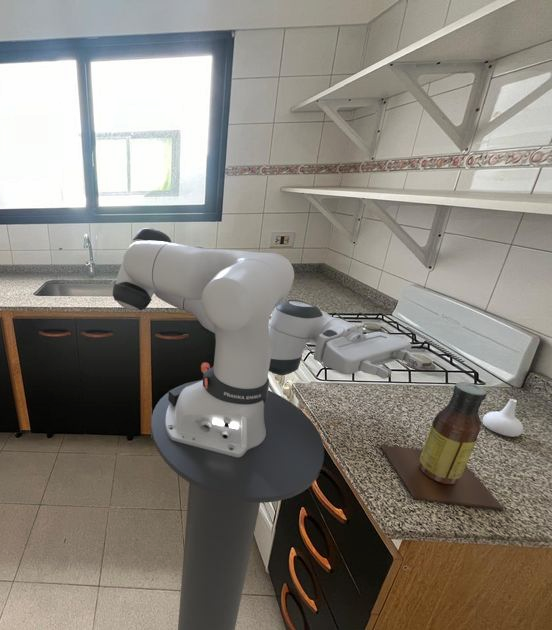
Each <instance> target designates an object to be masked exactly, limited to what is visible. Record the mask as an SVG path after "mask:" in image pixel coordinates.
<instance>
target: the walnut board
mask: <svg viewBox="0 0 552 630" xmlns="http://www.w3.org/2000/svg"><path fill="white" fill-rule="evenodd" d="M380 449H381V451H382V452H383V453H384V455H385V457H386V458H387V459H388V461H389V463H390V465H391V466H392V468H393V469H394V471H395V472H396V474H397V475H398V476H399V478H400V480H401V482H402V483H403V484H404V486H405V488H406V489H407V491H408V492H409V494H410V496H411V497H412V498H413V500H414V499H415V500H420V501H429V502H436V503H444V504H451V505H459V506H465V507H473V508H481V509H482V508H483V509H489V510H497V511H503V510H504V508H505V507H504V506H503V505H502V504H501V503H500V502H499V501H498V500H497V498H496V497H495V496H494V495H493V494H492V493H491V492H490V491H489V489H488V488H486V486H485V485H484V484H483V483H482V482H481V481H480V479H479V478H478V477H477V476H476V475H475V473H474V472H472V470H471V469H470V468H469V467H468V466H467V465H466V467H465V469H464V471H463V474H462V476H461V477H460V478H459V481H458V482H457V483H455V484H444V483H441V482H438V481H436V480H433V479H431V478H429V477H428V476H427V475H426V474H425V473H424V472H423V471H422V470H421V468H420V466H419V463H420V456H421V453H422V451H423V449H416V448H407V447H400V446H389V445H381V446H380Z"/></svg>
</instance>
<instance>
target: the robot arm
mask: <svg viewBox="0 0 552 630" xmlns="http://www.w3.org/2000/svg"><path fill="white" fill-rule="evenodd" d="M132 239H133V240H132V243H131V244H130V245H129V246H128V248H127V249H126V250H125V252H124V255H123V258H122V259H123V261H122V262H121V265H120V268H119V271H118V274H117V276H116V281H115V283H114V284H113V288H112V297H113V300H114V301H116V303H117V304H119V305H120V306H121V307H123V308H124V309H126V310H130V311H143V310H145V309H147V307H149V305H150V303H151V302H152V300H153V299H152V298H153V296H154V295H155V297H156V298H157V299H159V300H161V301H163V302H165V303H166V304H168V305H171V306H172V307H174V308H177V309H179V310H181V311H184V312H187V313H189V314H191V316H193V317H195V318H196V320H198V322H199V324H200V328H201V329H202V330H203V331H204V332H205V333H206V334H208V335H209V336H211V337H212V338H214V339H215V349H214V357H213V359H214V360H213V366H211V365H210V363H208V362H202V363H201V365H200V371H201V373H202V379H200V380H201V381H199V380H198V381H199V382H197V383H195V384H192V385H190V386H187V387H185V386H181V385H180V386H181V387H178V386H177V387H178V388H176V387H175V389H174V388H172V389H170V390H168V392H169V397H168V401H170V402H171V403H170V405H169V407H168V409H167V412H166V418H165V427H166V432H167V434H168V436H169V437H170V439H171V440H173V441H177V442H180V443H184V444H188V445H192V446H195V447H199V448H203V449H207V450H210V451H214V452H218V453H222V454H226V455H229V456H233V457H241V456H243V455H244V454H245V453H246V451H247V450H249V449H251V448H253V447H256V446H257V445H259V444H260V443H262V441H263V440H264V438H265V436H266V429H265V424H264V403H265V401H266V397H267V395H268V390H269V388H270V379H269V372H270V373H272V374H275V375H277V376H287V375H290V374H293V373H294V372H296V371H297V370H299V368H300V364H301V362H302V357H303V354H304V351H305V349H306V347H307V344H310V345H314V346H315V347H314V352H313V359H314V360H315V361H316V362H318V363H323V364H324V365H325V366H326V367H328V368H329V369H332V370H334V371H335V372H337V373H340V374H343V375H353V374H355V373H358V372H362V373H364V374H368V375H373V376H377V377H379V378H380V379H382V380H385V379H388V378H390V377H391V376H392V374H393V373H392V372H393V371H392V370H391V369H390V368H387V367H386V366H385V365H384V364H388V363H392V362H394V361H397V360H398V361H401V362H403V361H404V362H405V363H406V366H408V367H409V368H411V369H414V370H416V369H419V368H421V367H422V365H423V360H422V359H420V358H417V357H415V356H414V355H413V353H411V350H412V347H413V346H412V342H411V341H409V340H407V339H404V338H402V337H399V336H396V335H393V334H390V333H388V332H387V333H386V332H383V331H374V332H367V333H364V330H363V328H362V327H360V326H359V325H357V324H354V323H351V322H349V321H347V320H345V319H343V318H340V317H334V316H331V314H329V313H328V312H326V311H324V310H321V309H319V307H318V306H315V305H313V304H311V303H308V302H306V301H302V300H299V299H288V300H285V301H283V300H284V299H285V298H286V297H288V295H289V294H290V292H291V289H292V287H293V283H294V281H295V271H294V267H293V265H292V263H291V262H290V260H289V259H288V258H286V257H285V256H283V255H281V254H279V253H275V252H258V251H247V250H236V249H235V250H233V249H218V248H217V249H216V248H215V249H214V248H203V247H198V246H191V245H186V244H180V243H175V242H172V240H171V238H170V236H169V235H168V234H166V233H164V232H163V231H161V230H159V229H157V228H153V227H143V228H141V229H139V231H137V232H136V234H135V236H134V237H133V238H132ZM381 365H383V366H381Z"/></svg>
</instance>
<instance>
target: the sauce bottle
mask: <svg viewBox="0 0 552 630" xmlns="http://www.w3.org/2000/svg"><path fill="white" fill-rule="evenodd" d="M487 394H488V392H487V391H486V389H485V388H484V387H482V386H480V385H477V384H474V383H472V382H467V381H459V382H456V383H455V385H454V387H453V393H452V396H451V398H450V399H449V402H448V404H447V405H446V406H445V407H444V408H443V409H441V410H440V411H439V412H438V413H437V414H436V416H435V417H434V418H433V421H432V423H431V426H430V429H429V432H428V434H427V437H426V440H425V443H424V446H423V448H422V450H423V451H422V453H421V456H420V463H419V466H420V468H421V470H422V471H423V472H424V473H425V474H426V475H427V476H428V477H429V478H431V479H433V480H436V481H438V482H441V483H444V484H455V483H457V482H458V481H459V478H460V477H461V476H462V474H463V471H464V469H465V467H466V466H467V465H468V462H469V460H470V457H471V455H472V453H473V450H474V449H475V446H476V443H477V441H478V436H479V434H480V432H481V426H482V420H481V419H480V416H479V410H480V407H481V405H482V402H483V401H485V399H486V398H487Z"/></svg>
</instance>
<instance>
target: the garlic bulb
mask: <svg viewBox="0 0 552 630" xmlns="http://www.w3.org/2000/svg"><path fill="white" fill-rule="evenodd" d="M517 403H518V400H517V399H515V398H509V400H508V402H507V403H506V404H505V406H504V407H503V408H502V409H501V410H500V411H496V410H495V411H490V412H487V413H486V414H484V415H483V417H482V420H481V422H482V424H483V426H485V428H486V429H488V430H490V431H492V432H494V433H496V434H499V435H501V436H505V437H513V438H515V437H519V436H521V435H522V434H523V433H524V425H523V422H521V420H519V418H517V417H516V408H517Z"/></svg>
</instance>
